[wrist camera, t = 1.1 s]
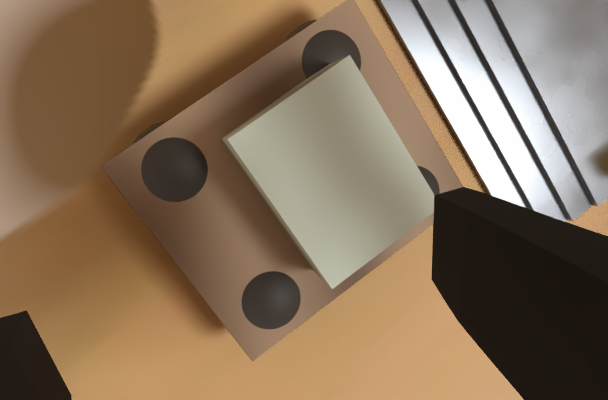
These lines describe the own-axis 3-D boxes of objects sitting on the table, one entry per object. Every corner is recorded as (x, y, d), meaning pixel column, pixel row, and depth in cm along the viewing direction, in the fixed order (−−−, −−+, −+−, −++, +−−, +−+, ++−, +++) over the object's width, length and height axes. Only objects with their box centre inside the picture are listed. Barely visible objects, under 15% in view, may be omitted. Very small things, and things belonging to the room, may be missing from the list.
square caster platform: (245, 335, 21) (266, 398, 16) (107, 157, 19) (83, 165, 14) (436, 192, 22) (510, 209, 17) (326, 9, 20) (375, -30, 15)
